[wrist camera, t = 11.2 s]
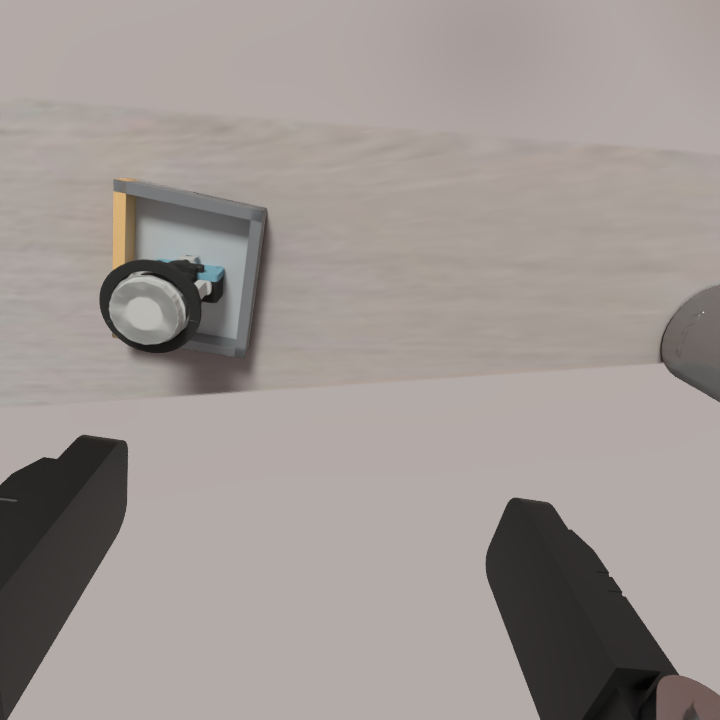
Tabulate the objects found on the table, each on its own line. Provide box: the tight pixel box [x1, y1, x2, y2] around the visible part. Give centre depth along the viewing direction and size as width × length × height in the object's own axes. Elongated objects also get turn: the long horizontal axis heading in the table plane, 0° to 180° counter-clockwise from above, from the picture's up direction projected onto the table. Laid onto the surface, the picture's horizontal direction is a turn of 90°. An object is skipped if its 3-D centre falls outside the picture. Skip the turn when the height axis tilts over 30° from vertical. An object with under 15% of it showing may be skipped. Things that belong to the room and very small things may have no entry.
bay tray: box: [112, 178, 267, 358], centre depth 32 cm, size 10×11×2 cm
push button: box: [100, 254, 224, 353], centre depth 28 cm, size 7×5×10 cm
